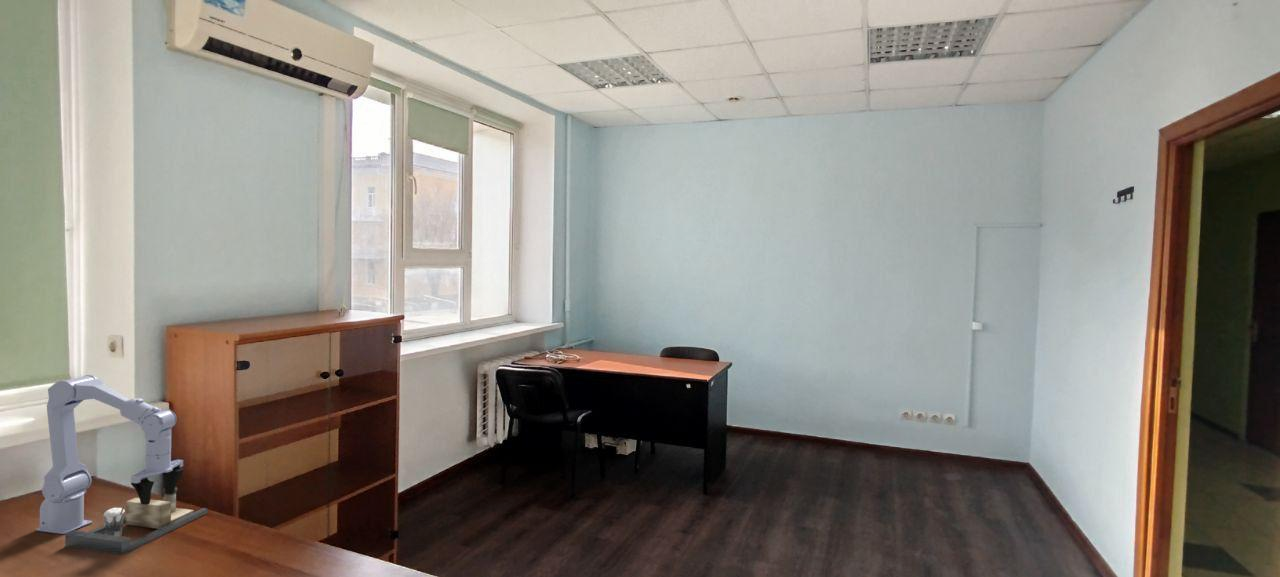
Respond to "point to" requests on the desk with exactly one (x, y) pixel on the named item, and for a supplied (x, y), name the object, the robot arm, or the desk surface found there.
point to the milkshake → (114, 521)
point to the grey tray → (120, 544)
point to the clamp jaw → (154, 512)
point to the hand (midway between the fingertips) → (157, 498)
